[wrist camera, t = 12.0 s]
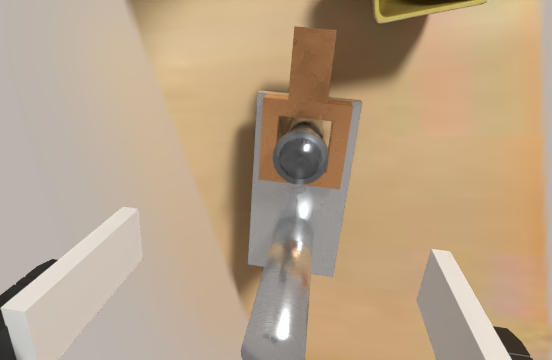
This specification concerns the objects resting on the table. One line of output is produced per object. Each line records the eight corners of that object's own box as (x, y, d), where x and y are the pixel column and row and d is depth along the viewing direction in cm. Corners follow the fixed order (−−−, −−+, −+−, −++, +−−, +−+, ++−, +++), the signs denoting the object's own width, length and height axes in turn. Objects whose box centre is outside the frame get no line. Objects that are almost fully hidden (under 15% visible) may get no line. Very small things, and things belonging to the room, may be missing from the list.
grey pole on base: (332, 242, 47) (335, 419, 25) (259, 232, 48) (201, 394, 26) (365, 34, 38) (418, 27, 16) (273, 27, 39) (199, 10, 17)
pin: (287, 138, 43) (270, 181, 30) (290, 100, 41) (274, 128, 28) (324, 142, 43) (324, 187, 30) (329, 104, 41) (332, 134, 28)
